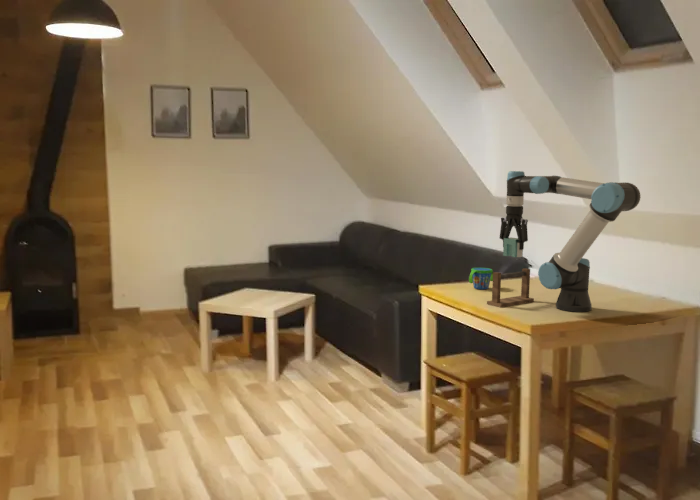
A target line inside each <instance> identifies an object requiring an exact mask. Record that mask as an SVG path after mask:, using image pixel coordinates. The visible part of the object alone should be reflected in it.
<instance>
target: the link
mask: <svg viewBox="0 0 700 500" xmlns="http://www.w3.org/2000/svg"><path fill="white" fill-rule="evenodd" d="M518 242H519V240H518V237H509V238H504V248H503V247H502V248H503V250H502V253H503V254H502V256H503V257H510V256H511V258H518V257H517V243H518ZM523 252H524V249H523V250H522V257H523V255H524V254H523Z"/></svg>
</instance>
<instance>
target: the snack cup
mask: <svg viewBox="0 0 700 500" xmlns="http://www.w3.org/2000/svg"><path fill="white" fill-rule="evenodd" d="M470 270H471V272H470V274H469V277H468V282H469V283H470V284H473V285H472V286H473V289H475V290H488V289H489V287H490V283H491V282H493V272H494V271H493V269H492V268H489V267H472V268H471V269H470Z"/></svg>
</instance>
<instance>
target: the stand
mask: <svg viewBox="0 0 700 500" xmlns="http://www.w3.org/2000/svg"><path fill="white" fill-rule="evenodd" d="M515 277H517V278H518V277H521V289H520V290H521V291H520V295H517V296H511V297H505V298H501V288H502V287H501V285H502V279H510V278H515ZM530 277H531V269H530V268H522V269H521V271H516V272H507V273H502V272H498V271H495V272H494V271H493V281H492V290H491V292H492V293H491V295H492V296H491V300H487V301H486V305H487V304H488V306H493V307H496V308H505V307H511V306H517V305H522V304H529V303H534V301H535V298H533V297H530V284H531V283H530V282H531V281H530V280H531V278H530Z"/></svg>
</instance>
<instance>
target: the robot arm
mask: <svg viewBox="0 0 700 500" xmlns="http://www.w3.org/2000/svg"><path fill="white" fill-rule="evenodd" d="M546 193H547V194H549V193H550V194H556V195H562V196H570V197H576V198H580V199H581V198H582V199H588V200H590V204H589V212H588V213H587V214H586V216H585V217H584V219H583V220H581V223H580V224H579V225H578V227H577V228H576V230H575V231H574V232H573V234H572V235H571V237H570V238H569V239H568V240H567V242H566V243H565V245H564V246H563V248H562V249H561V250H560V252H555V253H554V254H553V256H552V257H551V259H550V260H549V261H546V262H544V263H542V264H541V265H540V266H539V268H538V271H537V272H538V273H537V276H538V280H539V281H540V284H541V285H542V286H543V287H544V288H546V289H548V290H559V289H560V292H559V295H558V297H557V299H556V302H555V308H556V309H557V310H561V311H565V312H566V311H567V312H576V313H577V312H579V313H580V312H581V313H583V312H584V313H585V312H589V311H592V306H593V305H592V302H591V298H590V294H589V282H590V269H591V267H590V263H591V262H590V260H589V259H588V258H584V256H585V254H586V253H587V252H588V251H589V249H590V248H591V246H592V245H593V244H594V243H595V241H596V240H597V238H598V237H599V236H600V235H601V233H602V232H603V231H604V230H605V228H606V226H607V225H608V224H609V223H611V222H615V221H616V220H617V218H619V216H620V214H621V213H622V212H627V211H631V210H634V209H635V208H636V207H637V206H638V205H639V204H640V201H641V192H640V189H639V188H638V187H637V186H636V185H635V184H634V183H631V182H612V181H611V182H606V183H603V182H598V181H589V180H583V179H577V178H576V179H575V178H568V177H562V176H558V175H525V172H524V171H523V170H521V171H520V170H519V171H516V170H515V171H514V170H510V171H508V172H507V177H506V201H505V202H506V203H505V204H506V206H505V213H506V216H505V217H501V218H500V220H501V221H500V222H501V224H500V232H499V239H500V240H502V248H504V238H510V235H511V231H512V229H513V227H514V228H515V231H516V235H517V238H518V240H519V242H518V243H517V257H516V258H522V257H523V256H522V250H523V251H524V248H525V246H524V245H525V242H526V243H527V242H528V241H529V238H528V237H529V236H528V234H529V233H528V221H529V220H528V219H525V218H523V214H524V206H523V205H524V198H525V197H524V196H525V194H536V195H541V194H546Z"/></svg>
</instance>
